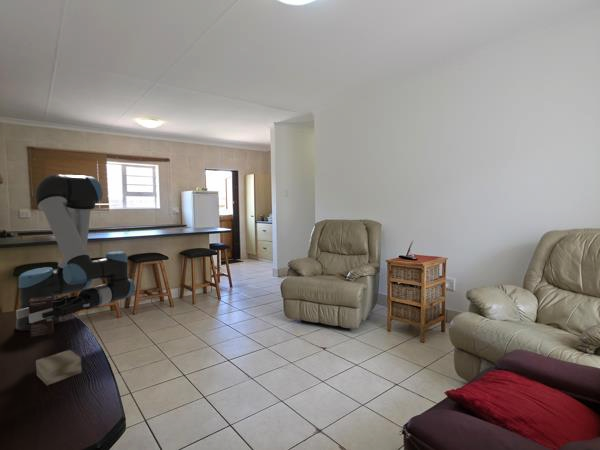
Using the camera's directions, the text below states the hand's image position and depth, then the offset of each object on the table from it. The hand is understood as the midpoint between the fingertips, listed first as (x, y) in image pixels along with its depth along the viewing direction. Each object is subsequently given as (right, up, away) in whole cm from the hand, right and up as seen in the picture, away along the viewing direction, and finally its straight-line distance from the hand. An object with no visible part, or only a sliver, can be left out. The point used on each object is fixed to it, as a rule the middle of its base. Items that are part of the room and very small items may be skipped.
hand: (23, 316), depth 106 cm
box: (+2, -7, +5) cm, 9 cm away
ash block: (+13, -17, -2) cm, 22 cm away
